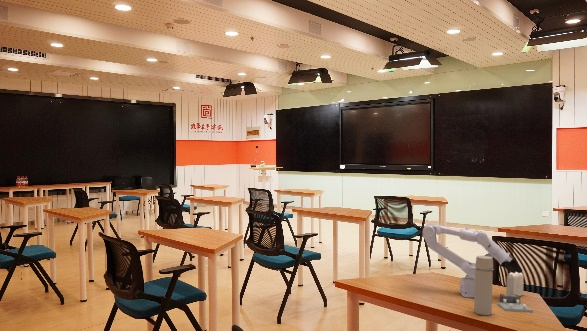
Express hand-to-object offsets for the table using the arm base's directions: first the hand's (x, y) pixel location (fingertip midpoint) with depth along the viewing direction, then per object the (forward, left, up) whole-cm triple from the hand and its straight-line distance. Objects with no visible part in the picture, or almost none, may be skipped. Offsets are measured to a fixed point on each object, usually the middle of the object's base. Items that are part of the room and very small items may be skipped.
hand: (518, 272), depth 215 cm
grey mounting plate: (-6, -12, -14) cm, 20 cm away
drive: (-5, -4, -15) cm, 16 cm away
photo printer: (+3, +9, -15) cm, 17 cm away
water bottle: (-23, -21, -14) cm, 34 cm away
